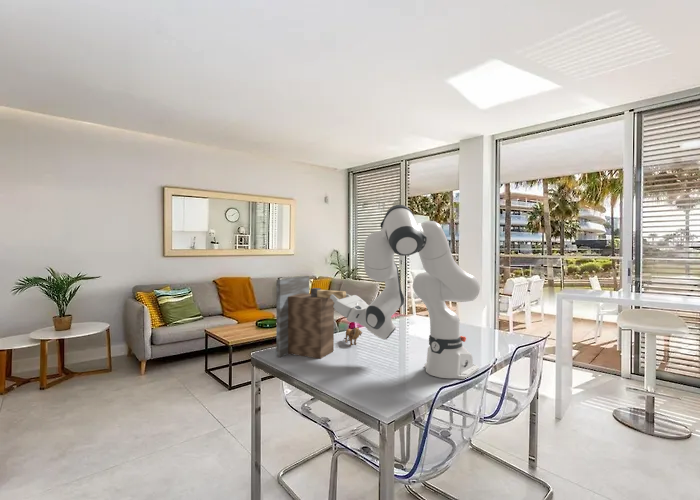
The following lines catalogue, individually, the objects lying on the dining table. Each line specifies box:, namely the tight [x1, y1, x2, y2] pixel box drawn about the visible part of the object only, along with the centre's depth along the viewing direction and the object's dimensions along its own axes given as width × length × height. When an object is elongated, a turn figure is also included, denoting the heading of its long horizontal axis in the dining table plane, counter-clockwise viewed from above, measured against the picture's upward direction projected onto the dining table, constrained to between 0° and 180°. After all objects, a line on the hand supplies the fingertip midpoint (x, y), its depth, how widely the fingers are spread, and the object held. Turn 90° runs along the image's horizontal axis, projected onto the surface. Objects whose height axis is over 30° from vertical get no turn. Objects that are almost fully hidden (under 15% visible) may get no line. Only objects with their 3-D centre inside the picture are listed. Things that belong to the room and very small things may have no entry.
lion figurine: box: [343, 327, 363, 346], centre depth 187 cm, size 15×5×9 cm, turn 31°
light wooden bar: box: [310, 287, 347, 299], centre depth 166 cm, size 16×4×4 cm, turn 65°
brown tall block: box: [276, 275, 335, 359], centre depth 171 cm, size 19×24×34 cm
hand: (336, 294), depth 165 cm, fingers open, 8 cm apart
